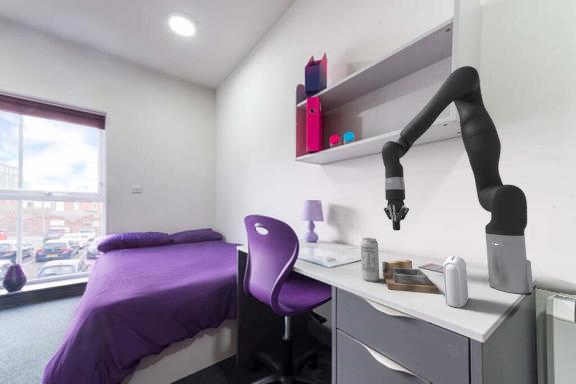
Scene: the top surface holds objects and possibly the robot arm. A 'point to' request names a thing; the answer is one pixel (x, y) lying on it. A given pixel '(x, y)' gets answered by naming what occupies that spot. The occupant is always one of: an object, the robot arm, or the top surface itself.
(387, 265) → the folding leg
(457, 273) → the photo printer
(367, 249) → the energy drink can
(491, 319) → the top surface
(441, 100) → the robot arm
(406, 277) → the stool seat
